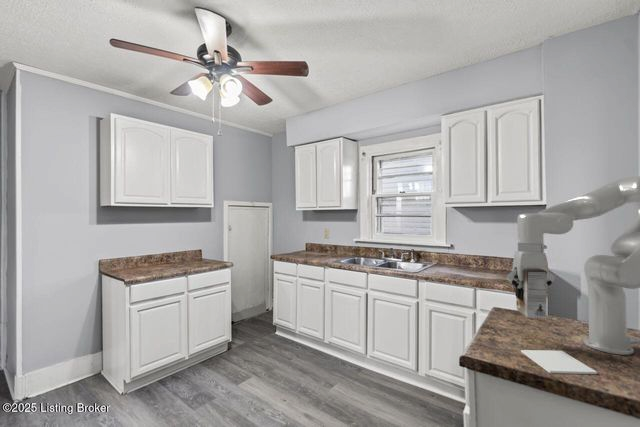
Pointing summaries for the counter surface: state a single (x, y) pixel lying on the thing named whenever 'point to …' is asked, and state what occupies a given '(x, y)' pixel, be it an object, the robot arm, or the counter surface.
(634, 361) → the counter surface
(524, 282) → the coffee box
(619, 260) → the robot arm
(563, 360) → the mat
